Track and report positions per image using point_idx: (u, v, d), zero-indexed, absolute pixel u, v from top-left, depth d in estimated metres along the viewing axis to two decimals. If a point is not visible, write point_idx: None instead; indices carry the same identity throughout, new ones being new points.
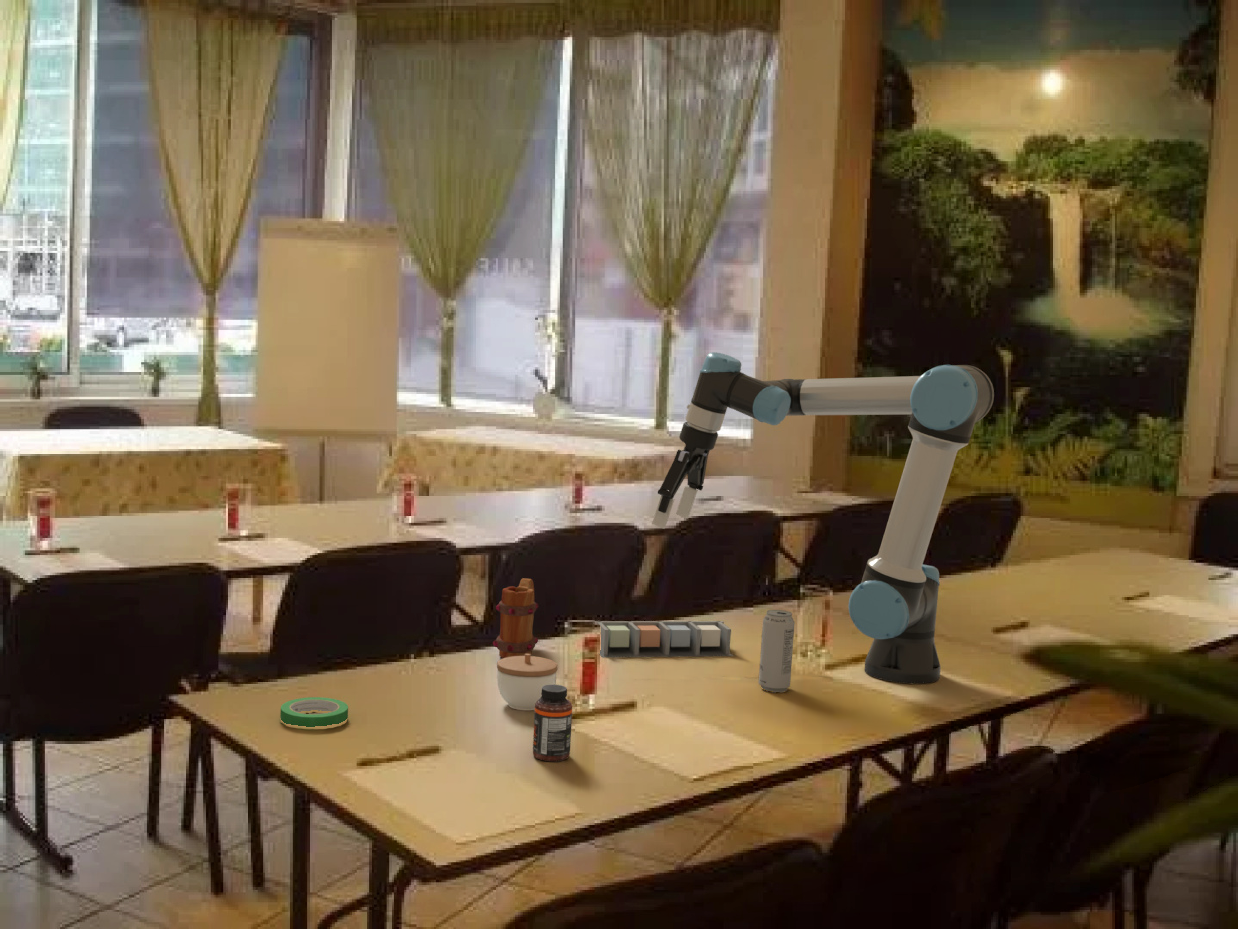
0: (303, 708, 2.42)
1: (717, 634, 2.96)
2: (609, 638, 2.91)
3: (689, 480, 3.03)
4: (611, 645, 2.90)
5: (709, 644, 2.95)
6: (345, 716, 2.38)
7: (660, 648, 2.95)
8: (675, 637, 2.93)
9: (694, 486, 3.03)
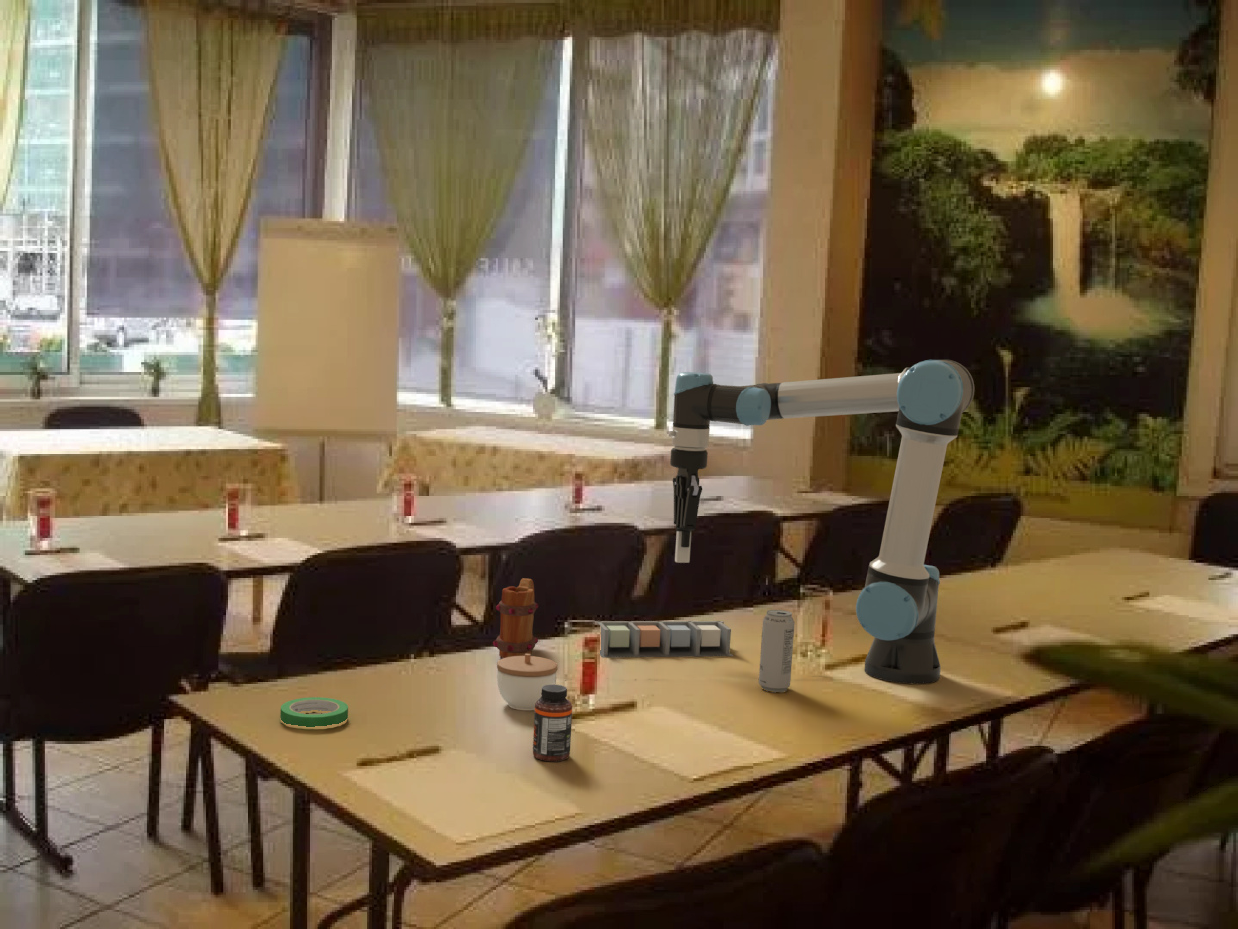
0: (303, 709, 2.42)
1: (717, 634, 2.96)
2: (609, 638, 2.91)
3: (680, 518, 2.93)
4: (611, 645, 2.90)
5: (709, 644, 2.95)
6: (345, 716, 2.38)
7: (660, 648, 2.95)
8: (675, 637, 2.93)
9: None
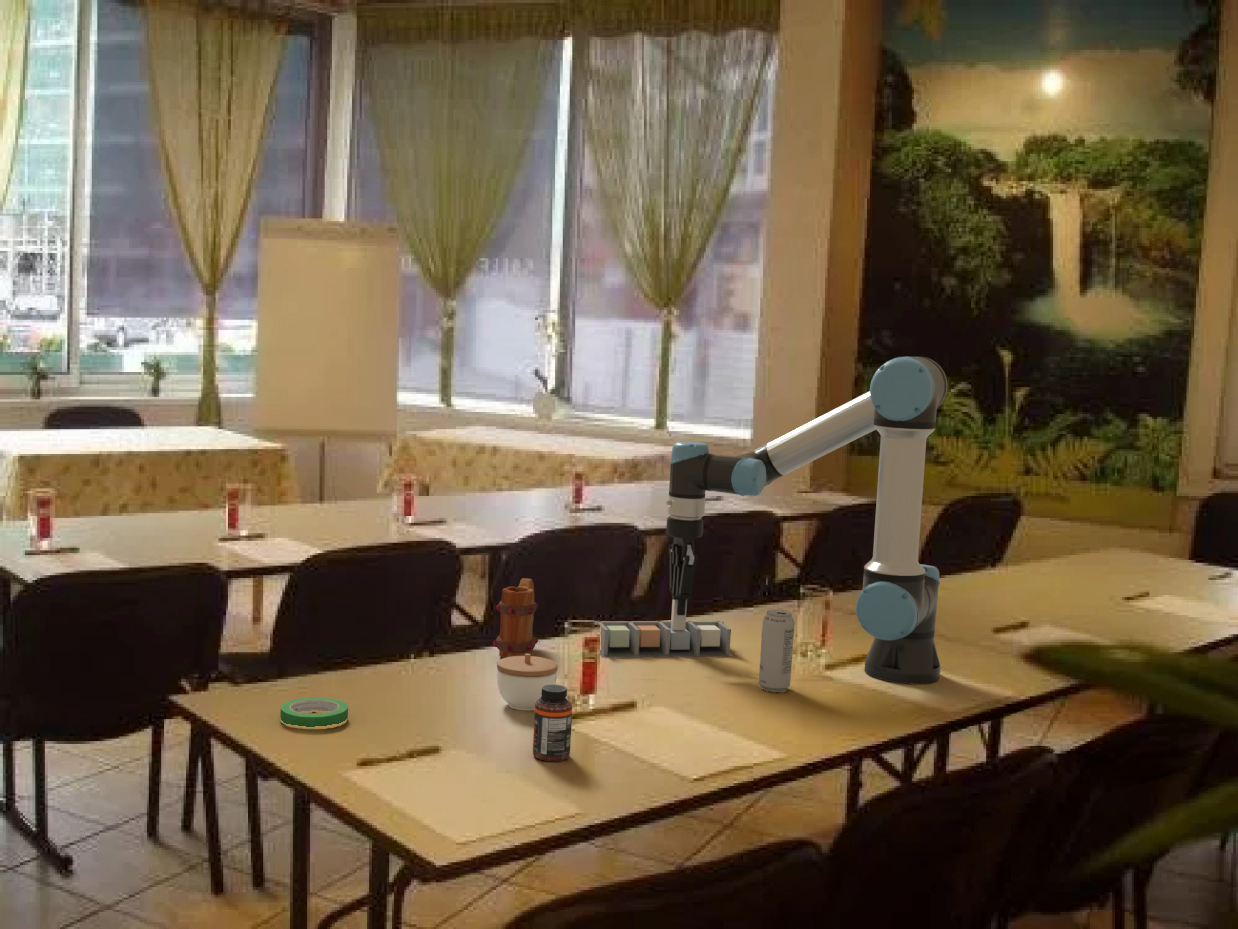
0: (303, 708, 2.42)
1: (717, 634, 2.96)
2: (609, 638, 2.91)
3: (676, 586, 2.95)
4: (611, 645, 2.90)
5: (709, 644, 2.95)
6: (345, 716, 2.38)
7: (660, 648, 2.95)
8: (674, 640, 2.93)
9: None
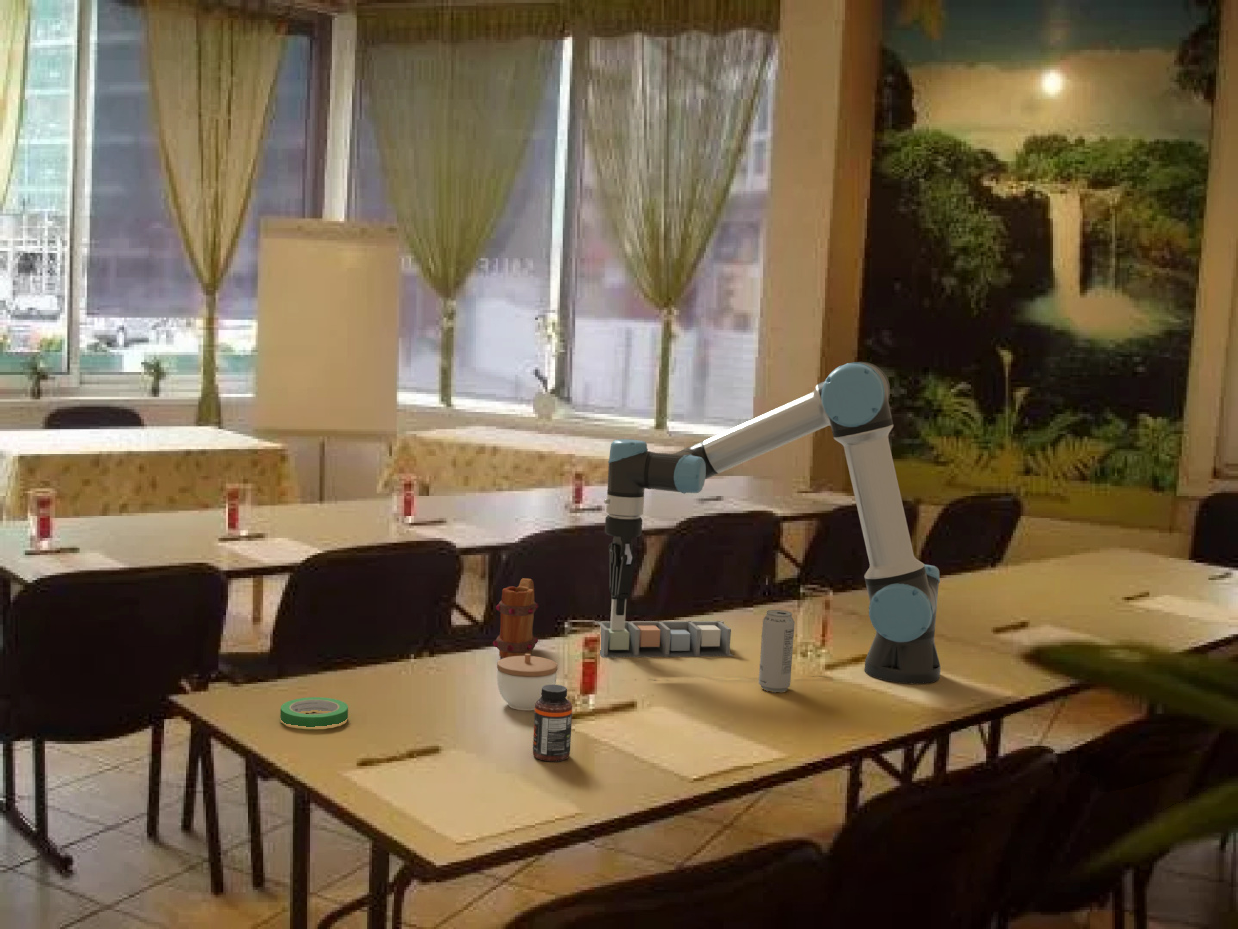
0: (303, 708, 2.42)
1: (717, 634, 2.96)
2: (609, 641, 2.91)
3: (615, 585, 2.92)
4: (611, 648, 2.90)
5: (709, 644, 2.95)
6: (345, 716, 2.38)
7: (660, 648, 2.95)
8: (674, 641, 2.93)
9: None
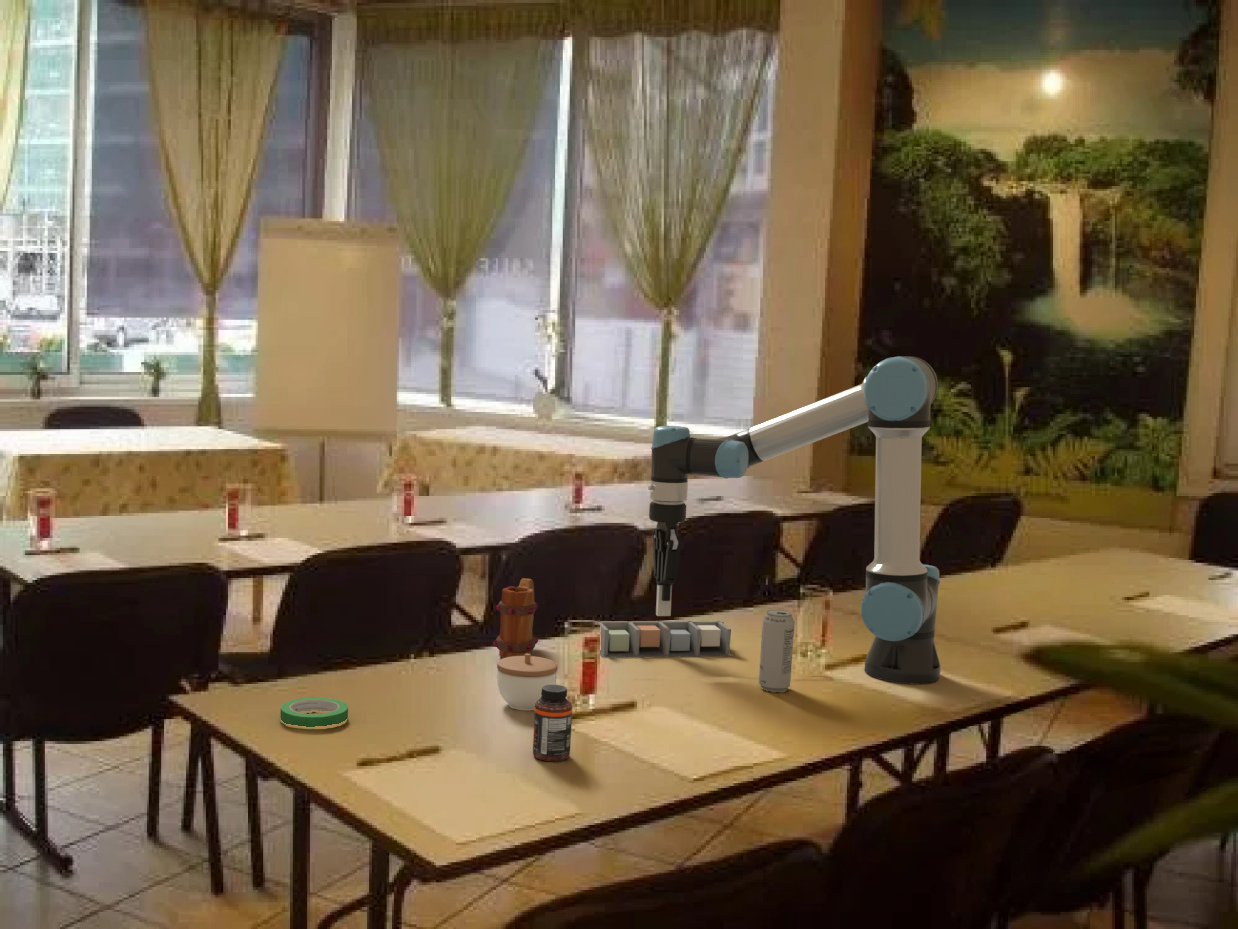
0: (303, 708, 2.42)
1: (717, 634, 2.96)
2: (609, 642, 2.91)
3: (660, 571, 2.93)
4: (611, 649, 2.90)
5: (709, 644, 2.95)
6: (345, 716, 2.38)
7: (660, 648, 2.95)
8: (674, 641, 2.93)
9: None
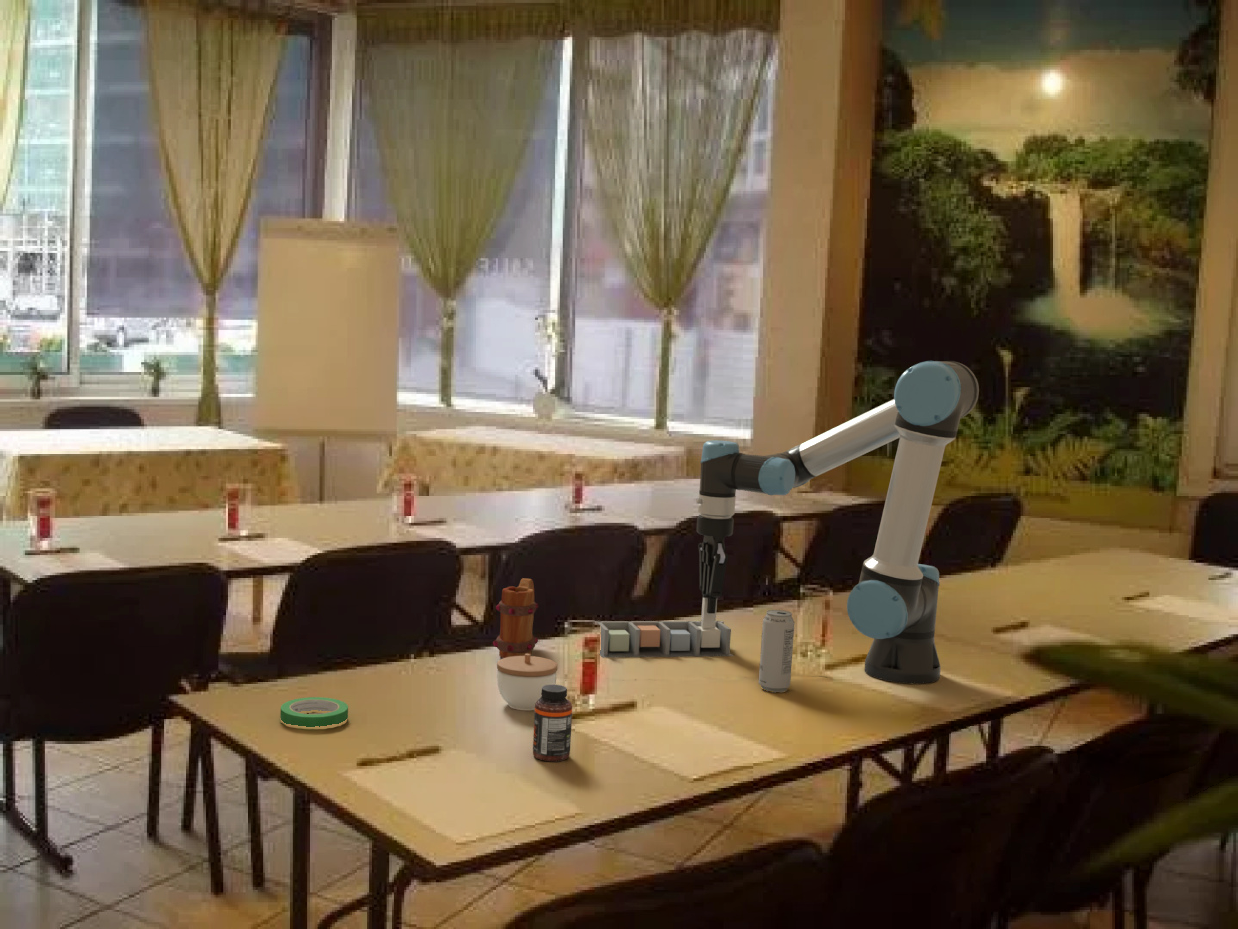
0: (303, 708, 2.42)
1: (717, 635, 2.96)
2: (609, 642, 2.91)
3: (706, 584, 2.97)
4: (611, 649, 2.90)
5: (709, 645, 2.95)
6: (345, 716, 2.38)
7: (660, 648, 2.95)
8: (674, 641, 2.93)
9: None
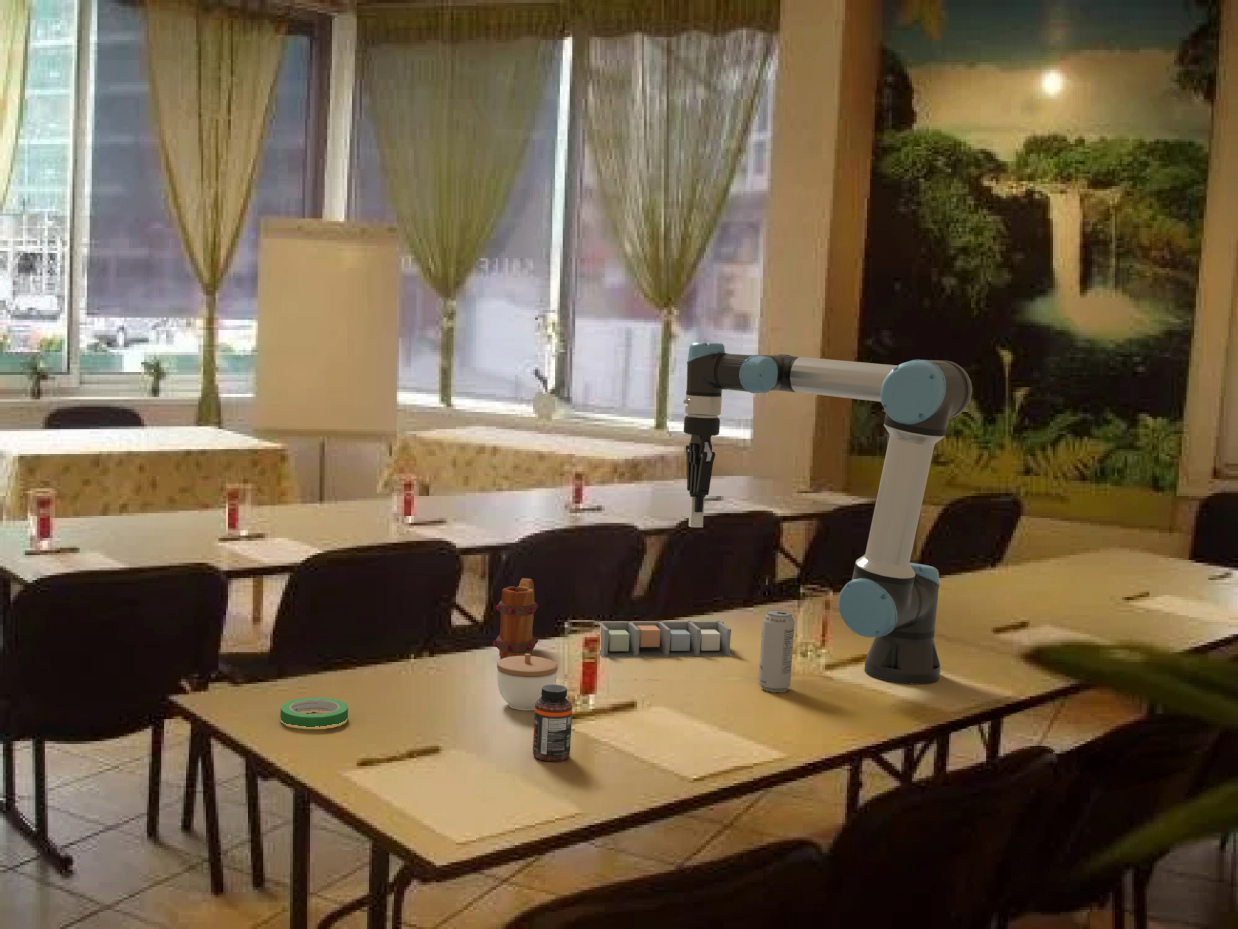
0: (303, 708, 2.42)
1: (717, 638, 2.96)
2: (609, 642, 2.91)
3: (693, 484, 3.02)
4: (611, 649, 2.90)
5: (709, 648, 2.96)
6: (345, 716, 2.38)
7: (660, 648, 2.95)
8: (674, 641, 2.93)
9: None
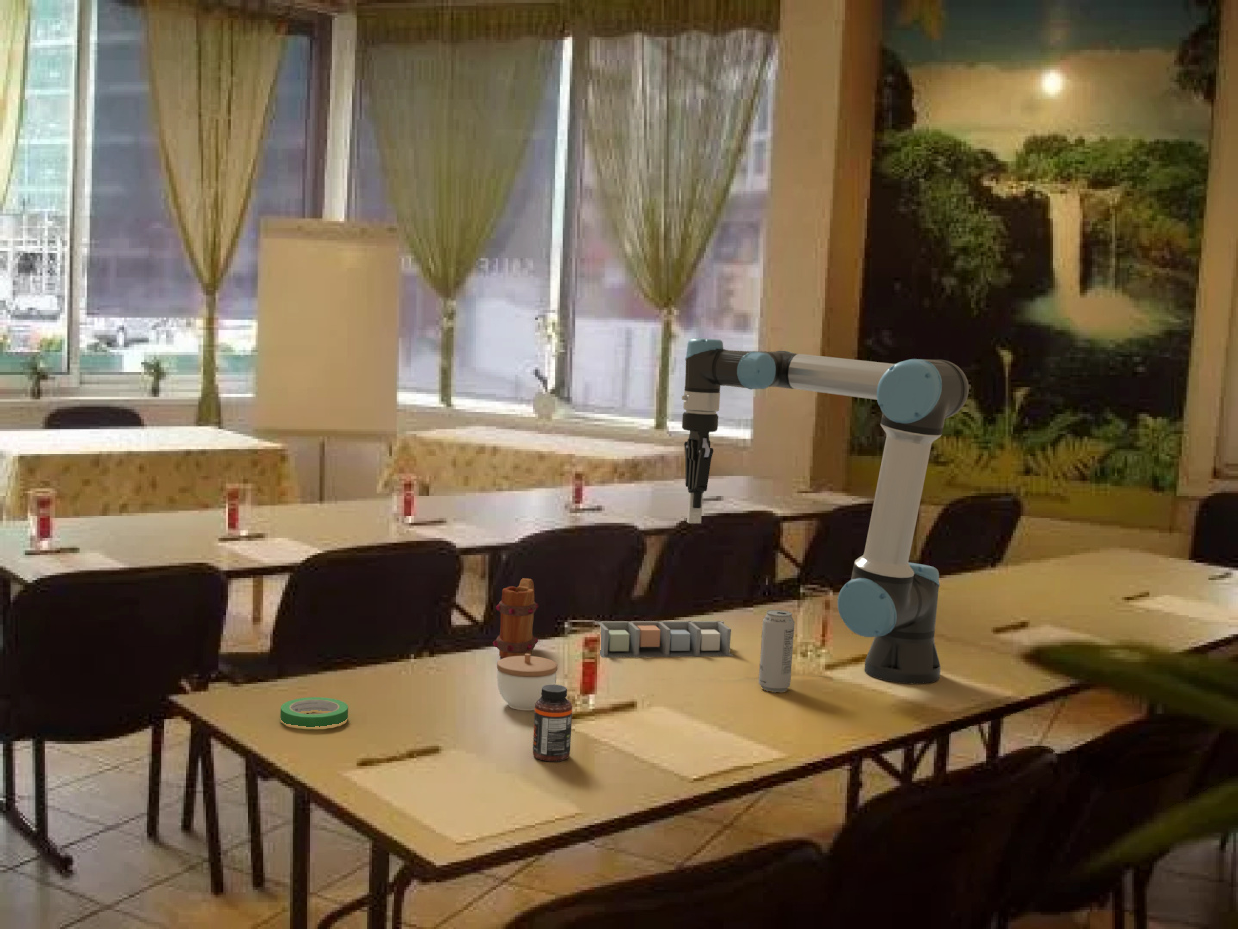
0: (303, 708, 2.42)
1: (717, 638, 2.96)
2: (609, 642, 2.91)
3: (692, 480, 3.02)
4: (611, 649, 2.90)
5: (709, 648, 2.96)
6: (345, 716, 2.38)
7: (660, 648, 2.95)
8: (674, 641, 2.93)
9: None
